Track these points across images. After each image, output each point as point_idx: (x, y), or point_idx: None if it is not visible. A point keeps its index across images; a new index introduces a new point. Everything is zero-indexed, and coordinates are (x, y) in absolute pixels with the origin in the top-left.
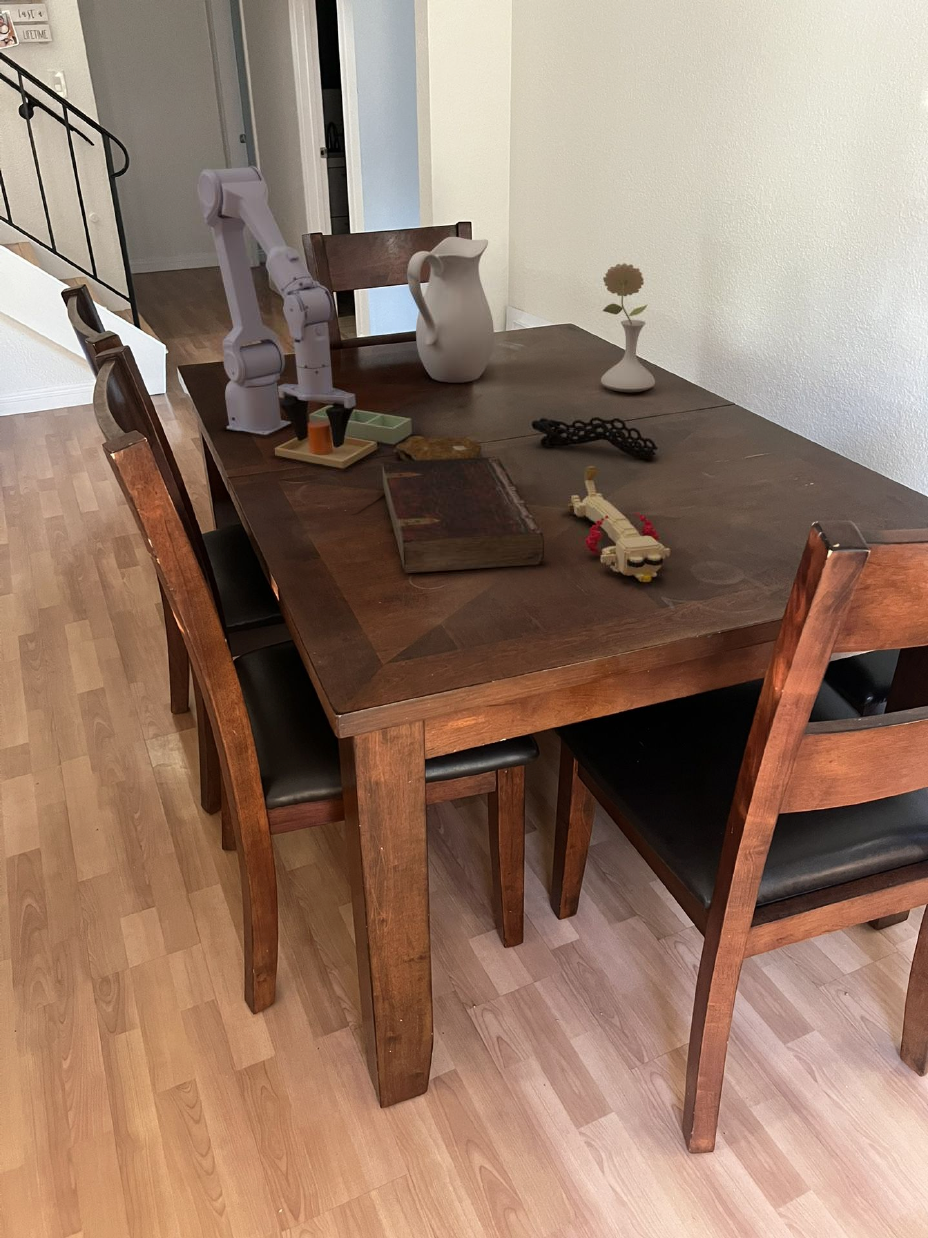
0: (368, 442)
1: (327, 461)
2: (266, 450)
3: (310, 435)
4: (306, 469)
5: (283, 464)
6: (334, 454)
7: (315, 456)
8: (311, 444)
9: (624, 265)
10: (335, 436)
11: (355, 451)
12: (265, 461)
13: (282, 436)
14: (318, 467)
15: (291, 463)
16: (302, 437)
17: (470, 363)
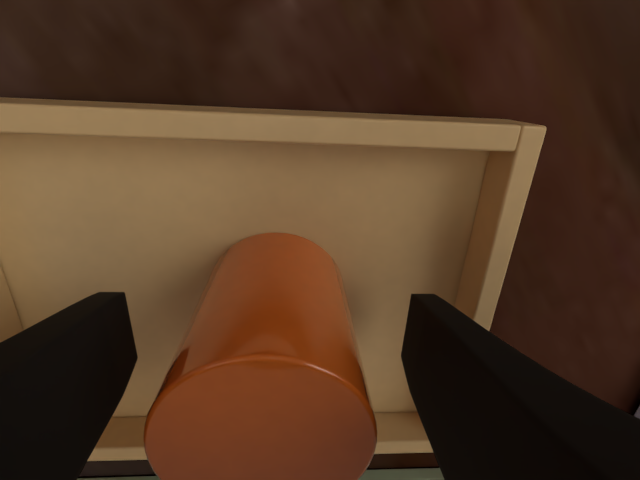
0: None
1: (47, 103)
2: (606, 201)
3: (297, 299)
4: (188, 3)
5: (399, 24)
6: (171, 280)
7: (154, 110)
8: (295, 261)
9: None
10: (20, 333)
11: None
12: (547, 23)
13: (585, 385)
14: (141, 81)
15: (356, 68)
16: (413, 322)
17: None
